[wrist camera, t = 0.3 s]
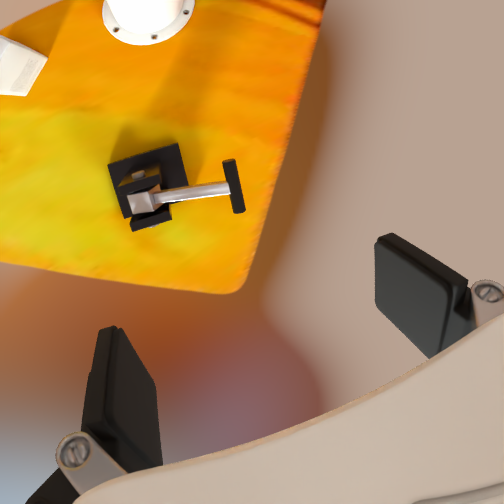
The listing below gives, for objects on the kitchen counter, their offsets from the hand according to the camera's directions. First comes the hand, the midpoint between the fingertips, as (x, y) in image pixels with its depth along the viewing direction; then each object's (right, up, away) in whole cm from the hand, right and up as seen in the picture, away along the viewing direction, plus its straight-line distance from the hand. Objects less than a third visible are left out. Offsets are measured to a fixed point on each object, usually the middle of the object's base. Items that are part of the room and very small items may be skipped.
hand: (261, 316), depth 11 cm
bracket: (-14, +12, +31) cm, 36 cm away
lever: (-7, +8, +21) cm, 23 cm away
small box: (-33, +28, +18) cm, 47 cm away
